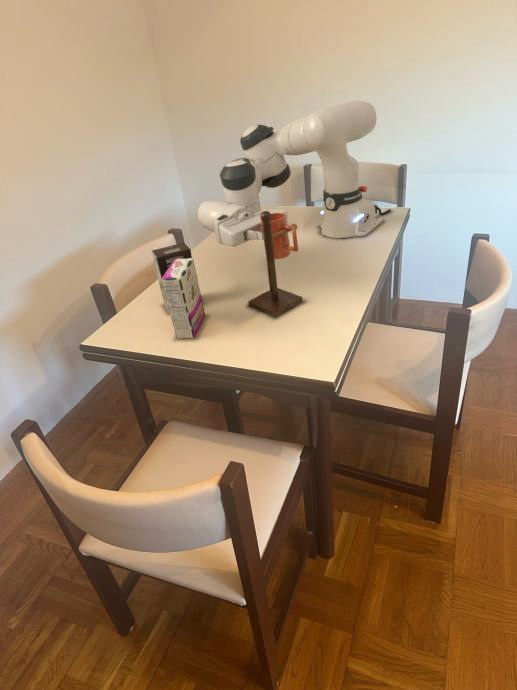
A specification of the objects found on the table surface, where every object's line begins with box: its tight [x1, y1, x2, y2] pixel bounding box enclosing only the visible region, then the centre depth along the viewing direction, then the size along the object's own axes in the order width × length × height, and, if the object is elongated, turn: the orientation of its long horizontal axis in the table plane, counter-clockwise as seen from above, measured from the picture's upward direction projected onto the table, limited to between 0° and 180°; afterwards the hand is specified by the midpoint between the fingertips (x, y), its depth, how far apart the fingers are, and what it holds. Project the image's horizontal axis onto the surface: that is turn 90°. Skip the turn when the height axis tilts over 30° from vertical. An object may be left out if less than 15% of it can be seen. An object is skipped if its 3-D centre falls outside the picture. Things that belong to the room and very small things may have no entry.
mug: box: [260, 213, 299, 260], centre depth 122 cm, size 10×6×10 cm, turn 43°
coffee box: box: [151, 242, 193, 314], centre depth 128 cm, size 9×6×16 cm
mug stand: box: [247, 211, 303, 318], centre depth 121 cm, size 15×10×25 cm
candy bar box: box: [161, 257, 207, 340], centre depth 117 cm, size 11×5×16 cm, turn 171°
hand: (275, 231), depth 123 cm, fingers closed on mug, 6 cm apart
